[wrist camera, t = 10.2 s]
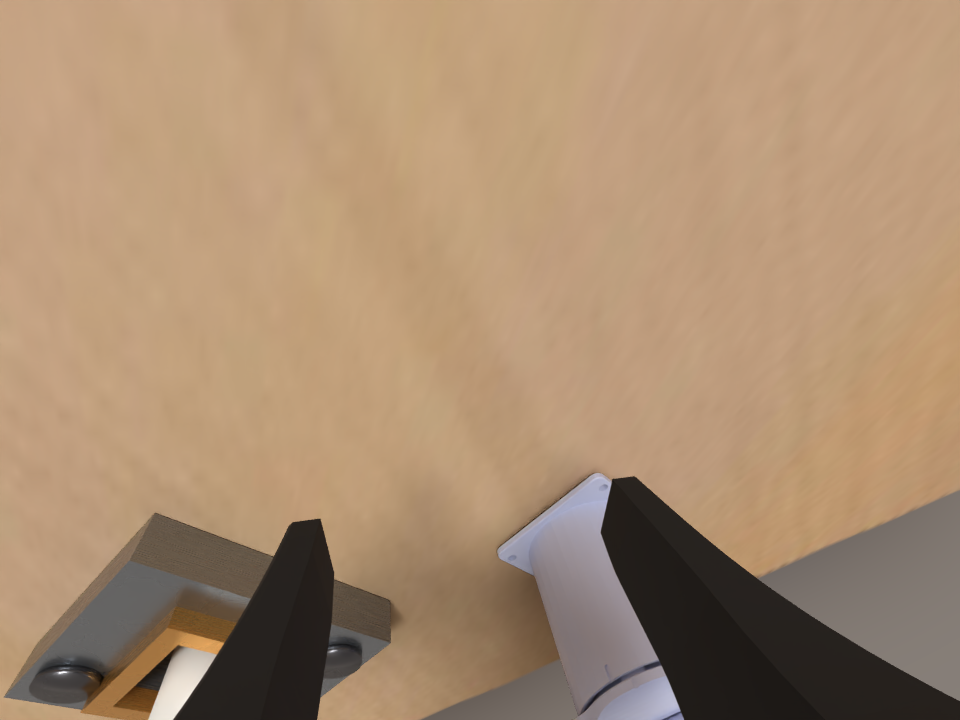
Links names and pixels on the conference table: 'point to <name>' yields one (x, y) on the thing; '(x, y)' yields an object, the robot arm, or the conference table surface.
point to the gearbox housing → (172, 622)
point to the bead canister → (180, 681)
